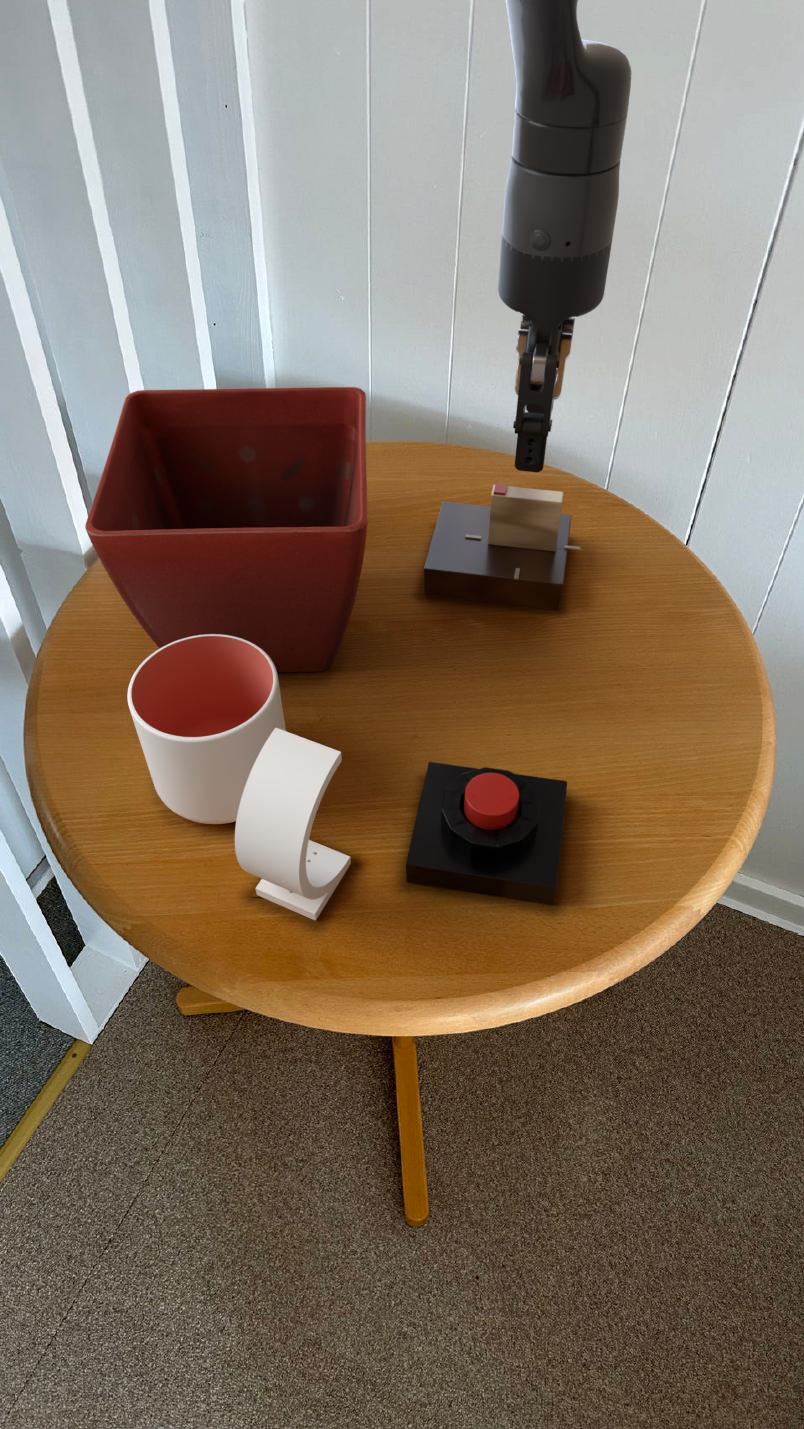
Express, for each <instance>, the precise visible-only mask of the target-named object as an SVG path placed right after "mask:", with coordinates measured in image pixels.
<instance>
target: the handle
mask: <svg viewBox="0 0 804 1429" xmlns="http://www.w3.org/2000/svg"><path fill="white" fill-rule="evenodd" d="M564 494H565V493H564V492H563V491H558V490H550V489H549V490H548V489H538V488H528V487H518V486H510V485H508V484H506V483H495V484H493V486H492V489H491V494H490V505H489V506H490V519H489V533H488V544H491V545H500V546H509V547H518V548H527V549H536V550H545V551H554V552H555V551H556V546H557V538H558V531H559V524H560V516H561V514H562V507H563V501H564Z"/></svg>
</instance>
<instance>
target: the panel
mask: <svg viewBox="0 0 804 1429" xmlns="http://www.w3.org/2000/svg"><path fill="white" fill-rule="evenodd" d="M572 517H573V516H572V514H568V513H561V516H560V524H559V531H558V538H557V546H556V551H555V552H554V551H545V550H536V549H527V548H518V547H509V546H500V545H491V544H488V533H489V519H490V505H481V504H471V503H462V502H452V501H442V502H441V506H440V509H439V513H438V516H437V520H436V524H435V526H434V530H433V534H432V537H431V540H430V545H429V548H428V552H427V556H426V560H425V564H424V567H423V595H424V596H432V597H441V598H447V599H448V598H449V599H457V600H458V599H459V600H466V601H473V602H481V603H482V602H483V603H492V604H500V605H508V606H517V607H524V608H533V609H540V610H541V609H542V610H552V611H560V609H561V603H562V595H563V588H564V582H565V573H566V566H567V565H566V564H567V557H568V550H570V551H579V552H580V551H581V548H582V547H581V546H575V545H569V541H570V533H571V524H572Z"/></svg>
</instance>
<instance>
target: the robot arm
mask: <svg viewBox="0 0 804 1429" xmlns="http://www.w3.org/2000/svg"><path fill="white" fill-rule="evenodd" d="M578 3H579V0H505V6H506V13H507V20H508V28H509V35H510V44H511V50H512V51H511V52H512V59H513V66H514V73H515V75H514V76H515V84H516V88H515V89H516V90H515V101H514V102H515V103H514V120H513V130H512V132H513V133H512V145H511V156H510V164H509V169H508V174H507V180H506V184H505V189H504V200H503V215H502V228H501V229H502V230H501V242H500V256H499V269H498V281H497V282H498V283H497V286H498V287H497V291H498V292H497V293H498V296H499V298H500V300H501V301H502V303H503V304H504V305H506V306H507V307H508V308H509V309H510V310H512V311H514V312H516V313H520V314H521V318H520V328H518V330H517V337H516V345H515V349H516V353H517V356H518V357H517V365H516V371H515V381H514V392H515V394H516V395H517V402H516V412H515V419H514V421H513V424H512V427H513V428H512V429H514V434H516V435H517V437H516V446H515V447H516V448H515V456H514V458H515V459H514V468H515V469H516V470H518V471H520V472H529V473H540V472H542V471H543V470H544V466H545V459H546V451H547V442H548V437H549V433H551V432H552V427H553V419H552V414H553V409H554V403H555V401H556V400H558V399H559V398H560V397H561V395H562V389H563V381H564V374H565V368H566V362H567V360H568V359H569V358H570V356H571V349H572V342H573V338H574V337H573V336H574V329H575V322H576V318H578V317H582V316H584V315H587V314H589V313H590V312H592V311H594V310H595V309H596V308H598V307H599V306H600V304H601V303H602V301H603V299H604V297H605V290H606V285H607V284H606V283H607V276H608V271H609V264H610V259H611V258H610V256H611V250H612V246H613V245H612V244H613V239H614V232H615V225H616V219H617V213H618V212H617V211H618V207H619V196H620V170H621V169H620V168H621V158H622V152H623V147H624V139H625V133H626V127H627V120H628V119H627V118H628V113H629V105H630V100H631V91H632V79H633V77H632V76H633V75H632V73H633V72H632V67H631V63H630V60H629V59H628V56H627V55H626V54H625V53H624V52H623V51H621V50H620V49H619V48H617V47H615V46H612V45H610V44H607V43H604V42H600V41H595V40H588V39H582V36H581V32H580V26H579V21H578Z"/></svg>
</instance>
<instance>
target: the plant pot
mask: <svg viewBox="0 0 804 1429" xmlns="http://www.w3.org/2000/svg"><path fill="white" fill-rule="evenodd" d="M123 401H124V402H123V404H122V408H121V412H120V415H119V417H118V422H117V425H116V429H115V432H114V435H113V438H112V442H111V445H110V449H109V451H108V454H107V457H106V462H105V463H104V464H105V465H104V467H103V470H102V472H101V476H100V479H99V483H98V486H97V489H96V492H95V494H94V497H93V501H92V504H91V507H90V510H89V511H88V512H89V513H88V515H87V519H86V521H85V524H84V528H85V532H86V534H87V536H88V538H89V541H90V542H91V544H92V547H93V548H94V551H95V553H96V555H97V556H98V558H99V560H100V562H101V564H102V566H103V568H104V570H105V571H106V573H107V575H108V577H109V578H110V581H111V582H112V584H113V586H114V587H115V589H116V591H117V592H118V594H119V595H120V597H121V598H122V600H123V602H124V603H125V605H126V606H127V608H128V609H129V611H130V612H131V614H132V615H133V617H134V619H136V621H137V622H138V624H139V625H140V626H141V627H142V629H143V631H144V632H145V633H146V634H147V635H148V637H149V638H150V639H151V640H152V642H153V643H154V644H155V645H156V646H157V648H158V649H160V648H162V647H164V646H166V645H168V644H170V643H172V642H175V641H177V640H180V639H183V638H187V637H191V636H197V635H205V634H221V635H229V636H234V637H238V638H241V639H244V640H247V641H249V642H251V643H253V644H255V645H256V646H258V647H259V648H261V649H262V650H263V651H264V652H265V653H266V654H267V655H268V656H269V657H270V658H271V660H272V662H273V663H274V665H275V668H276V671H277V673H298V672H299V673H300V672H302V673H303V672H304V673H305V672H323V671H327V670H329V669H330V668H331V667H332V666H333V665H334V663H335V661H336V659H337V656H338V653H339V651H340V649H341V646H342V643H343V641H344V638H345V635H346V633H347V629H348V627H349V623H350V620H351V617H352V613H353V610H354V607H355V602H356V598H357V593H358V589H359V586H360V585H359V584H360V580H361V575H362V570H363V565H364V559H365V551H366V544H367V533H368V532H367V531H368V482H367V479H368V477H367V437H366V436H367V435H366V434H367V432H366V430H367V429H366V422H367V421H366V418H367V394H366V392H365V391H364V390H363V389H362V388H360V387H356V386H325V387H324V386H323V387H322V386H321V387H319V386H318V387H311V386H310V387H272V388H271V387H267V388H266V387H264V388H263V387H259V388H258V387H257V388H255V387H254V388H251V387H250V388H210V389H209V388H205V389H202V388H201V389H200V388H198V389H190V388H189V389H141V390H140V389H139V390H136V391H133V392H131V393H129V394H127V396H126V397H125V398H124V400H123Z"/></svg>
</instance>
